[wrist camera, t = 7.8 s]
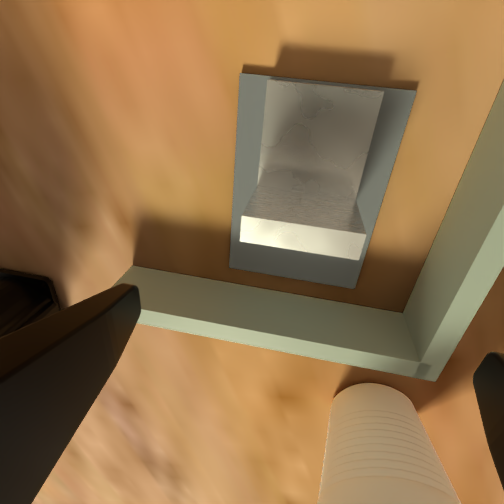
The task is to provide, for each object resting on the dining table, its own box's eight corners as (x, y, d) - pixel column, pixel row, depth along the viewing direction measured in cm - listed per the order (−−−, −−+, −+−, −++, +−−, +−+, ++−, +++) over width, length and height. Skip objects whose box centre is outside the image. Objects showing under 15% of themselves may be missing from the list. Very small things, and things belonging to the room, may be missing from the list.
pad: (230, 265, 21) (229, 267, 20) (241, 73, 15) (239, 73, 15) (354, 286, 20) (354, 289, 19) (415, 90, 14) (416, 90, 14)
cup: (387, 341, 21) (443, 552, 12) (467, 419, 24) (566, 646, 14) (282, 393, 26) (263, 574, 17) (357, 454, 28) (378, 643, 19)
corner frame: (134, 279, 23) (102, 316, 19) (96, -7, 14) (27, -31, 11) (415, 330, 21) (435, 381, 17) (560, 28, 12) (654, 11, 9)
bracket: (348, 213, 17) (358, 260, 13) (258, 200, 18) (239, 241, 13) (380, 90, 14) (407, 98, 10) (270, 79, 15) (251, 82, 10)
